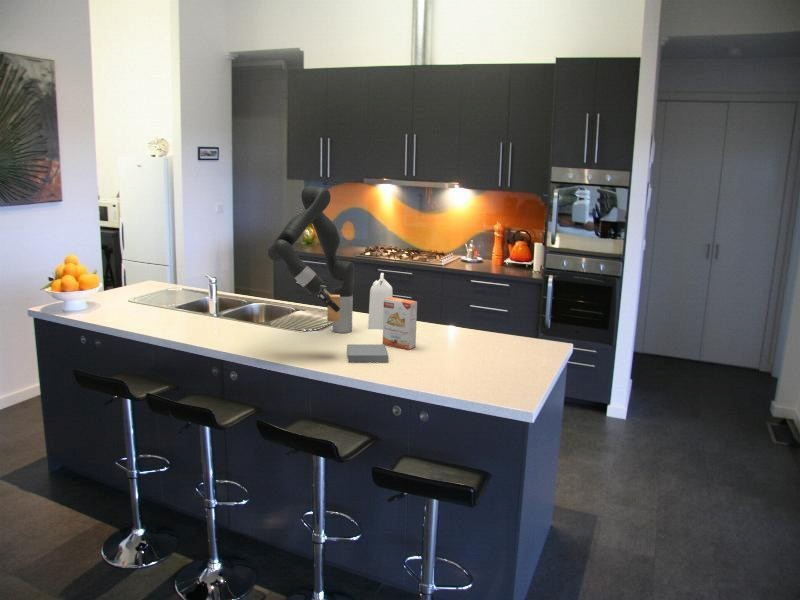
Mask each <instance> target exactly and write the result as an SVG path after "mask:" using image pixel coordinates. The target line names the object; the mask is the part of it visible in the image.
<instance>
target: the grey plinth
mask: <svg viewBox="0 0 800 600" xmlns="http://www.w3.org/2000/svg"><path fill="white" fill-rule="evenodd" d="M346 354H347V361H348V363H369V362H371V363H373V362H374V363H376V364H377V362H378V363H380V364H381V363H382V364H383V363H387V364H388V363H389V353H388V350H387V347H386V345H385V344H383V343H382V344H375V343H374V344H373V343H372V344H370V343H368V344H362V343H361V344H360V343H359V344H354V343H353V344H348V343H347V344H346ZM374 363H373V364H374Z"/></svg>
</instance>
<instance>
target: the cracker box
mask: <svg viewBox="0 0 800 600" xmlns="http://www.w3.org/2000/svg"><path fill="white" fill-rule="evenodd" d="M417 314H418V301H415V300H410V299H405V298H400V297H389V298H385V299H384V312H383V330H382V344H385V346H389V347H395V348H398V349H403V350H407V351H410V350H412V349H414V348H416V343H417V342H416V339H417V320H418V319H417V317H418V316H417Z"/></svg>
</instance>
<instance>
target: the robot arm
mask: <svg viewBox="0 0 800 600" xmlns="http://www.w3.org/2000/svg"><path fill="white" fill-rule="evenodd" d="M300 197H301V198H300V199H301V202H302V205H303V207H304V209H305V210H304V211H302V212H301V213H299V214H297V215H296V216H294V217H292V219H290V220H289V222H287V224H286V225H285V227H284V228H283V229H282V231H281V232H280V234H279V235H278V237H276V239H275V240H274V241H273V242H272V243H271V245H270V246H269V248H268V250H267V256H268V258H269V259H270V260H271V261H273V262H280V261H282V260H283V261H284V263H285V265H286V266H285V269H286V271H287V272H288V273H289V274H290V275H291V276H292V278H294V280H296V282H297V283H298V284H299V285H300V286H301V287H302V288H303V289H304V290H305V291H306V292H307V293H308V294H309V295H312V294H314V293H316V296H317V298H318V299H319V300H321V302H323V303H324V304H325V305H326V306H327V307H328V306H330V307H331V308H332V309H333V310H334V311H335V312H338V311H339V310H340V322H332V332H334V333H339V334H347V333H351V332H352V331H353V307H354V306H353V305H354V304H353V302H354V301H353V299H354V298H353V294H354V287H355V274H356V273H355V272H356V270H355V264H354V263H353V262H352V261H348V260H347V261H345V260H339V258H338V256H337V250H338V248H339V247H340V243H341V237H340V234H339V231H338V227H336V224H335V223H334V222H333V221H332V220H331V219H330V218H329V217H328V216H327V215H326V214H325V212H324V211H325V210H326V209H327V207H328V206H329V205H330V202H331V192H330V190H329V189H328V188H325V187H322V186H315V185H314V186H312V185H308V186H305V187H304V188H303V189H302V190H301V195H300ZM310 224H312V225H313V228H314V230H315V233H316V236H317V239H318V242H319V244H320V246H321V249H322V252H323V254H324V258H325V261H326V265H327V270H328V273H329V275H330V277H331V279H332V280H335V281H338V282H339V281H340V282H342V285H341V286H338V287H335V288H333V291H332V294H331V292H329V291H328V290H327V288H325V286H323V285H322V284H323V283H324V280H323V279H322V278H321V277H320V276H319V275H318V273H316V272H315V271H314V270H313V269H312V268H310V267H309V265H307V264H306V263H305V262H304V261H303V259H301V258H300V256H299V255H298V253H297V251H296V250H295V249H294V247H293V246H294V245H295V244H296V243H297V242H298V240H299V239H300V238H301V237H302V235H303V233H304V231H305V230H306V229H307V228H308V226H309V225H310ZM330 295H340V308H339V307H338V306H337V305H336V304H335V303H334V301H333V300H332V299H331V296H330ZM328 300H329V302H328Z"/></svg>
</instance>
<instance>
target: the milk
mask: <svg viewBox="0 0 800 600" xmlns="http://www.w3.org/2000/svg"><path fill="white" fill-rule="evenodd" d="M389 297H393V286H392V285H391V284H390V283H389V282H388V281H387V280H386V279H385V273H384V272H380V276H379V279H376V280H375V281H374V282H373V283H372V285H371V287H370V290H369V305H368V324H367V325H368V326H367V329H368V330H381V331H383V312H384V299H385V298H389Z"/></svg>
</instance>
